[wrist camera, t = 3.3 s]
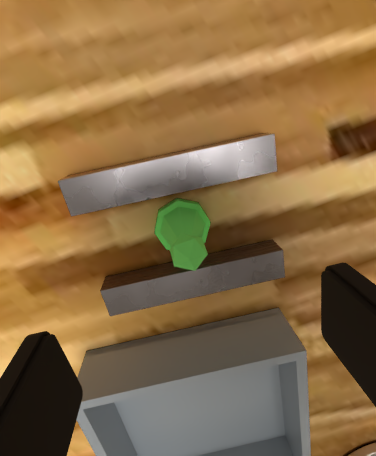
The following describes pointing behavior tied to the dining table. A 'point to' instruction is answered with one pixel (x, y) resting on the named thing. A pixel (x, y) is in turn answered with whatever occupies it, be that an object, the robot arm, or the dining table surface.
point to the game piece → (183, 232)
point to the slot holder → (171, 184)
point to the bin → (200, 392)
